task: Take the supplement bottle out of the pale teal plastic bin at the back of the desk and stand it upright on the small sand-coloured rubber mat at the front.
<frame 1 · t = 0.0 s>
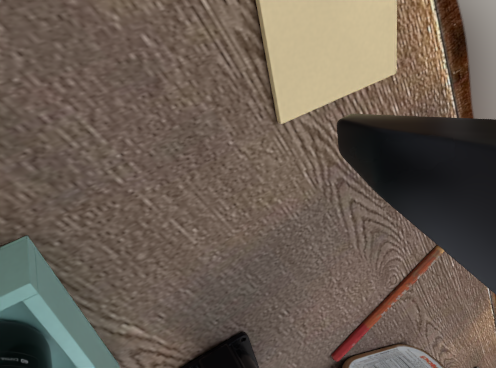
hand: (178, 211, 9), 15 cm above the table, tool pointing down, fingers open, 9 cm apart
pencil: (388, 293, 45), on the table
mat: (331, 23, 26), on the table
tin: (370, 353, 50), on the table
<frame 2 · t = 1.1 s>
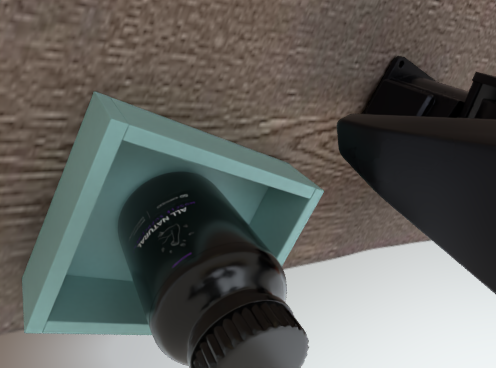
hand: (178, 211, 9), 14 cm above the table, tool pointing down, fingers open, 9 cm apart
bin: (168, 214, 26), on the table
supplement bottle: (169, 215, 26), resting on bin
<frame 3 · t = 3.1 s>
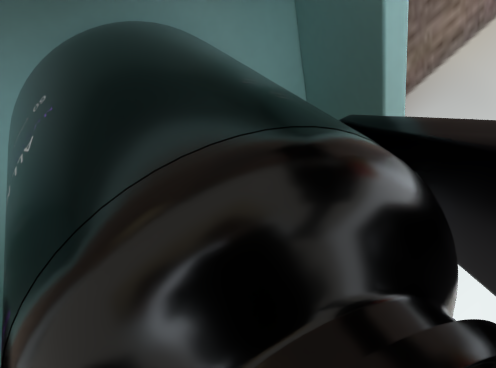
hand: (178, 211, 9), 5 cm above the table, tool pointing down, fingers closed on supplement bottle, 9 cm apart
bin: (135, 133, 13), on the table
supplement bottle: (136, 135, 13), resting on bin, touching gripper
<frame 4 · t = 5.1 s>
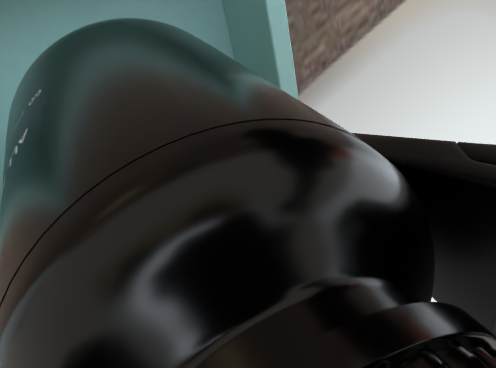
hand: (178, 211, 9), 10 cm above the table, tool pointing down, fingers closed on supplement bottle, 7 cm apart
bin: (103, 93, 17), on the table
supplement bottle: (133, 130, 13), point 5 cm above the table, touching gripper
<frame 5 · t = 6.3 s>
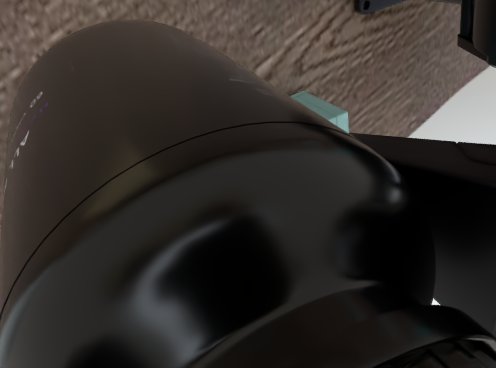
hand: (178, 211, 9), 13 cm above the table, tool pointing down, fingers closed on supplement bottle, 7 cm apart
bin: (225, 207, 27), on the table
supplement bottle: (133, 131, 13), point 8 cm above the table, touching gripper
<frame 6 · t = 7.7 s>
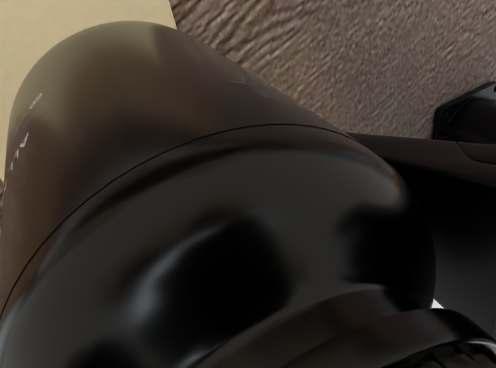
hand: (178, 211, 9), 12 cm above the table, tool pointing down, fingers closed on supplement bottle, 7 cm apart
supplement bottle: (133, 132, 13), point 8 cm above the table, touching gripper
mat: (67, 53, 18), on the table
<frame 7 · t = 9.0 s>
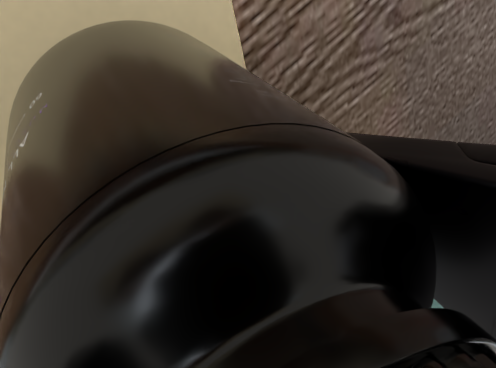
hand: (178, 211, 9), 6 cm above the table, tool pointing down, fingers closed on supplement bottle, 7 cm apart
supplement bottle: (133, 132, 13), point 2 cm above the table, touching gripper
mat: (115, 119, 14), on the table
when the fingers open (5 cm above the table, at t = 9.9 s): supplement bottle stays where it is, resting on mat.
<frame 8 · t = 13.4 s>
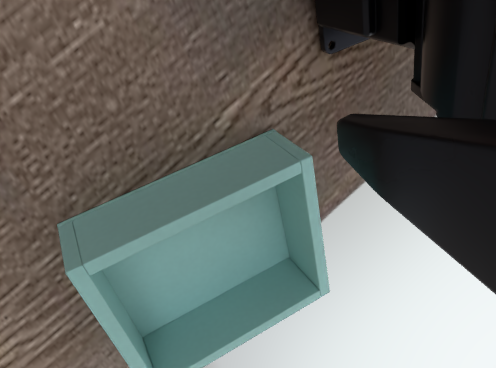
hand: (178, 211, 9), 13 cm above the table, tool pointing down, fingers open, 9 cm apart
bin: (200, 243, 27), on the table
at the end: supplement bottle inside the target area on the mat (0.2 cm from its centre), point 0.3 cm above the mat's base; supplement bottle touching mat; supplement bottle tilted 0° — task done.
